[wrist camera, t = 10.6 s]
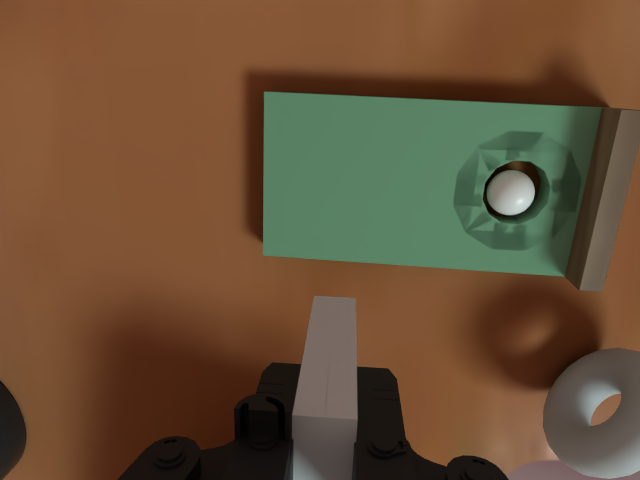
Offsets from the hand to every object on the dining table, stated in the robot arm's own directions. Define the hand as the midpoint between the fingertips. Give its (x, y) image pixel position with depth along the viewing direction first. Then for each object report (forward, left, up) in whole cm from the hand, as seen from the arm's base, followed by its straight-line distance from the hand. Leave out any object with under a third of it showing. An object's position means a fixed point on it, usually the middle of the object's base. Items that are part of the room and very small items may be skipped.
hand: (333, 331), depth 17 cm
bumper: (+17, +2, -19) cm, 25 cm away
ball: (+11, +2, -19) cm, 22 cm away
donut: (+20, -13, -21) cm, 31 cm away
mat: (+6, +2, -21) cm, 21 cm away
